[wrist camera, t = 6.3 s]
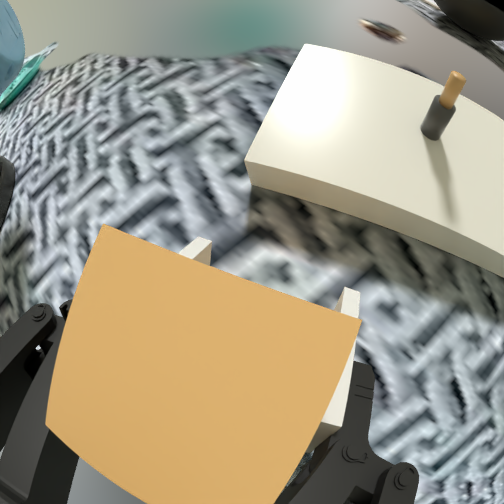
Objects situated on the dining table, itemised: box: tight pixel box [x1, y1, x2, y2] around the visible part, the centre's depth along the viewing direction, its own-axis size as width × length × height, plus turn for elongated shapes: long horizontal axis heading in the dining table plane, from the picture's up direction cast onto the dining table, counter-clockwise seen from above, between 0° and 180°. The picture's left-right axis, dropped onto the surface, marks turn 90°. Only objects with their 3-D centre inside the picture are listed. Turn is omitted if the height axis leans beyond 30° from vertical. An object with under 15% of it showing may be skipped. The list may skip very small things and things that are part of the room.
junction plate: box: [244, 44, 504, 278], centre depth 13 cm, size 22×14×8 cm, turn 68°
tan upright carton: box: [45, 224, 362, 504], centre depth 10 cm, size 5×5×12 cm
